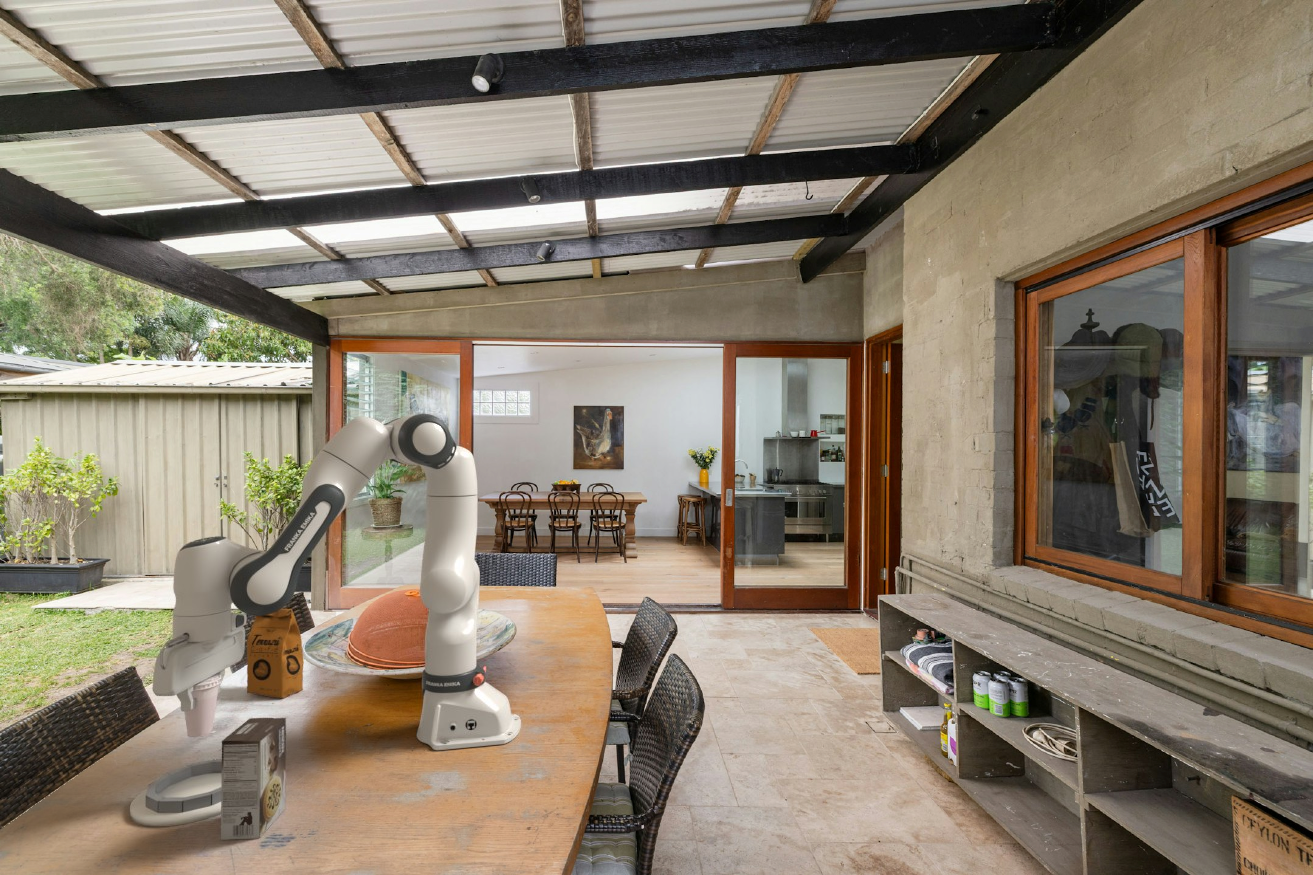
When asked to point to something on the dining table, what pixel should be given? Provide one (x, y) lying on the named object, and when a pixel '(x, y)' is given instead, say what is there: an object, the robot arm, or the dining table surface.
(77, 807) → the dining table surface
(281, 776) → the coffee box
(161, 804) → the ring plate
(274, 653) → the coffee package
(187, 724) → the smoothie
